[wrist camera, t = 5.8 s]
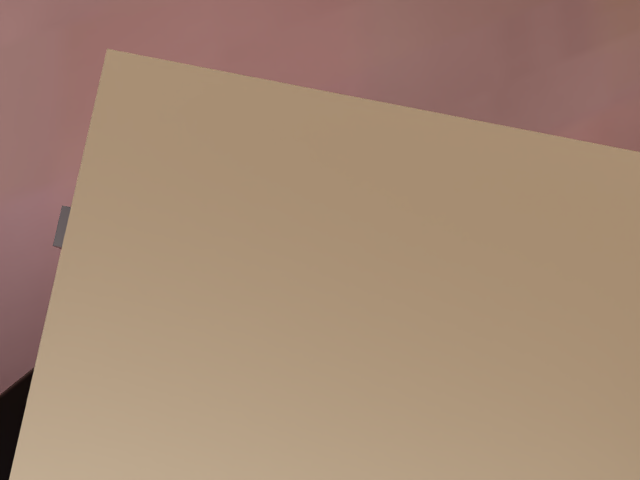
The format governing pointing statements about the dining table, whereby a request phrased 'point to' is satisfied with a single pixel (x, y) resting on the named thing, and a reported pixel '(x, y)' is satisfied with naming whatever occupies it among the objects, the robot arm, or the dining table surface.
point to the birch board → (334, 293)
